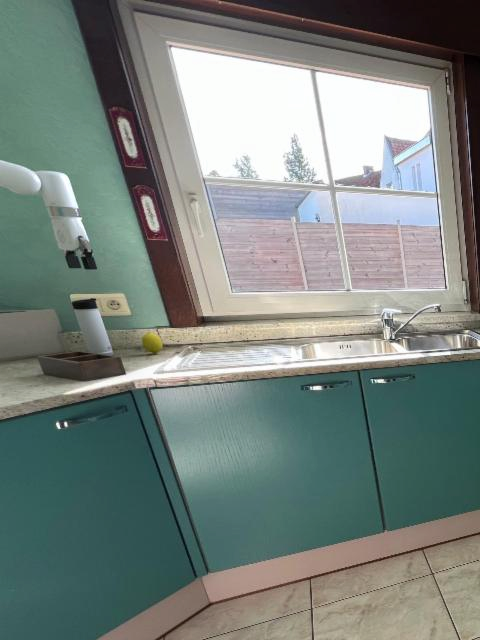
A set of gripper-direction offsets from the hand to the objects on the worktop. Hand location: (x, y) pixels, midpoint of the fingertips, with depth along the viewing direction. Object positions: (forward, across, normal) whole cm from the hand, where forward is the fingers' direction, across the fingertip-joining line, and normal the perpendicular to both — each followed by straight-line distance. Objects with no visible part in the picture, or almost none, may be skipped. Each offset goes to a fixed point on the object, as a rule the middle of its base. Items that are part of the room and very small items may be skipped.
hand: (83, 268), depth 168 cm
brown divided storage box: (+30, +26, -19) cm, 44 cm away
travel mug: (+30, -4, -1) cm, 30 cm away
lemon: (+30, +8, +9) cm, 33 cm away
